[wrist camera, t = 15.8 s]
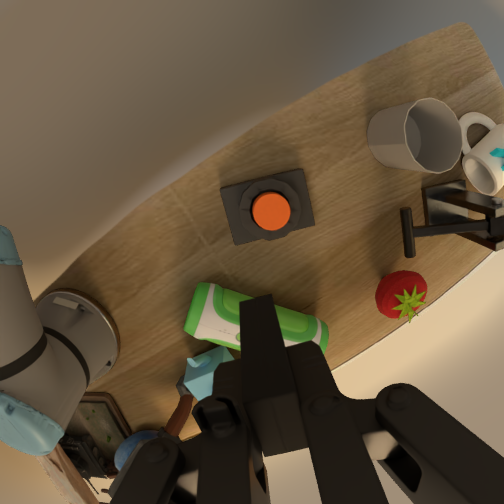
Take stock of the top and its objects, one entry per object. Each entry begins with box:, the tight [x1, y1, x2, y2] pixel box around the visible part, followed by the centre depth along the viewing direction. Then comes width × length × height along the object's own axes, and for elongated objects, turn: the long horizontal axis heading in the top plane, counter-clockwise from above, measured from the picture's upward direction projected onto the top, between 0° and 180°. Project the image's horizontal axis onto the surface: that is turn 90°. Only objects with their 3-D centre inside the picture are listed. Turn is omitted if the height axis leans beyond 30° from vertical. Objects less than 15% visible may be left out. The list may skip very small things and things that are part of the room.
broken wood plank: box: [35, 443, 99, 504], centre depth 41 cm, size 28×12×5 cm, turn 46°
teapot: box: [183, 345, 235, 401], centre depth 42 cm, size 12×6×8 cm, turn 28°
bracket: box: [421, 179, 504, 251], centre depth 34 cm, size 8×7×14 cm
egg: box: [114, 430, 158, 471], centre depth 46 cm, size 9×9×15 cm
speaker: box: [183, 282, 329, 354], centre depth 40 cm, size 18×7×8 cm, turn 69°
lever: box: [400, 207, 504, 258], centre depth 32 cm, size 14×6×2 cm, turn 104°
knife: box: [107, 375, 194, 498], centre depth 41 cm, size 9×2×30 cm
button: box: [252, 192, 290, 230], centre depth 35 cm, size 4×4×2 cm
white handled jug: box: [459, 112, 504, 196], centre depth 34 cm, size 12×9×12 cm
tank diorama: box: [58, 393, 132, 504], centre depth 46 cm, size 28×25×11 cm
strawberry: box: [375, 270, 427, 323], centre depth 38 cm, size 6×8×10 cm
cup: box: [367, 97, 463, 174], centre depth 33 cm, size 8×8×10 cm
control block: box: [220, 169, 315, 246], centre depth 37 cm, size 10×7×4 cm
